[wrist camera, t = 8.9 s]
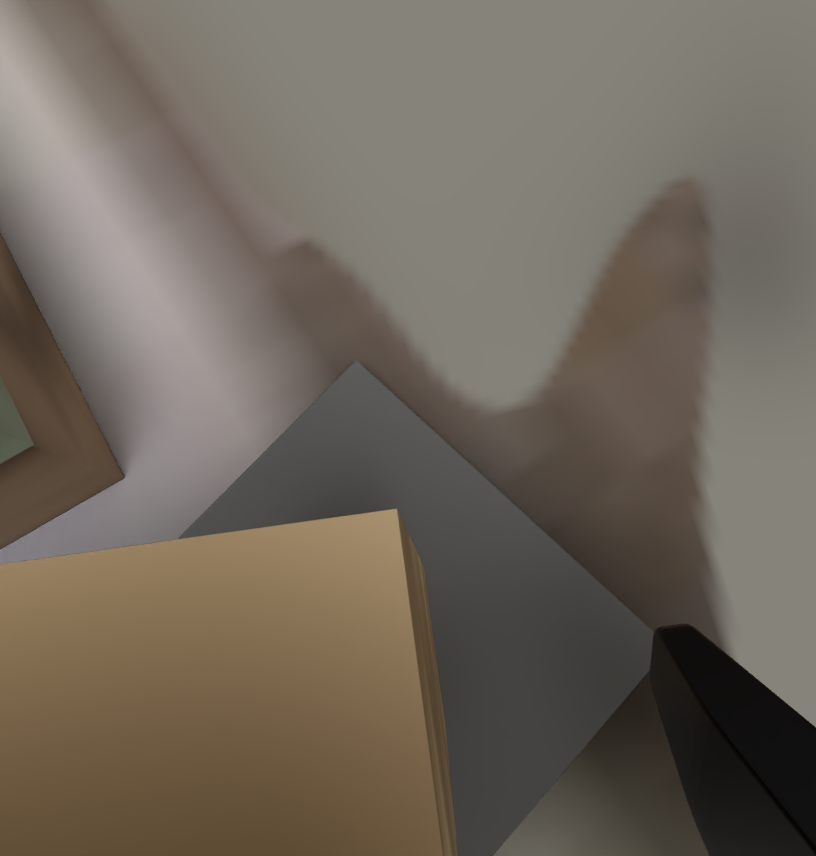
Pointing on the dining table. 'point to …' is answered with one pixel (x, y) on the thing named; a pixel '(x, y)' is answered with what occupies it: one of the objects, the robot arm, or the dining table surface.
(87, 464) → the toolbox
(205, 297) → the dining table surface
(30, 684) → the tan tall rectangular block
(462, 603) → the rubber mat
